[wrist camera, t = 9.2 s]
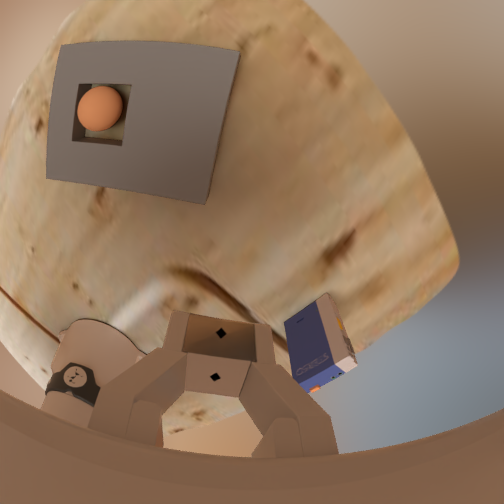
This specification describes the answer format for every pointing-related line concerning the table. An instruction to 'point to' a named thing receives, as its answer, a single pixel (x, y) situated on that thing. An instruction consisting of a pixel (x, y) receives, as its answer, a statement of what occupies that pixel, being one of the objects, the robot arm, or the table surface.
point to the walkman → (318, 345)
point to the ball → (100, 108)
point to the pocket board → (143, 116)
